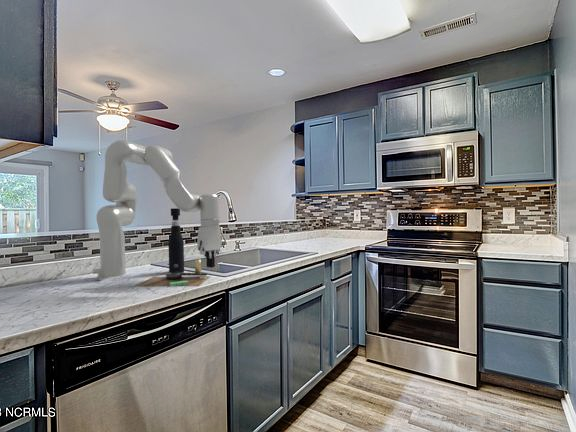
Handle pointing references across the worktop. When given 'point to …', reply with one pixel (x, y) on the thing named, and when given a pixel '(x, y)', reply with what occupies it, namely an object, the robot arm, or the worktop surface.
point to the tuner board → (174, 281)
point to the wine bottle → (176, 245)
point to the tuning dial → (179, 274)
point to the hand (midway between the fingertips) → (210, 266)
